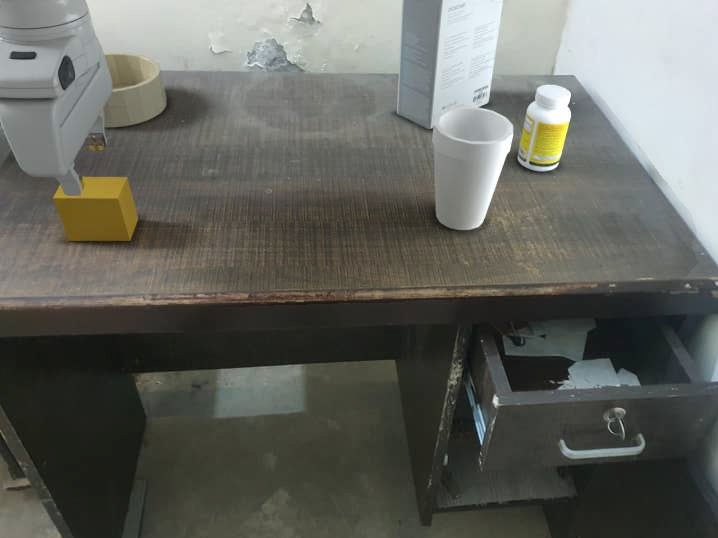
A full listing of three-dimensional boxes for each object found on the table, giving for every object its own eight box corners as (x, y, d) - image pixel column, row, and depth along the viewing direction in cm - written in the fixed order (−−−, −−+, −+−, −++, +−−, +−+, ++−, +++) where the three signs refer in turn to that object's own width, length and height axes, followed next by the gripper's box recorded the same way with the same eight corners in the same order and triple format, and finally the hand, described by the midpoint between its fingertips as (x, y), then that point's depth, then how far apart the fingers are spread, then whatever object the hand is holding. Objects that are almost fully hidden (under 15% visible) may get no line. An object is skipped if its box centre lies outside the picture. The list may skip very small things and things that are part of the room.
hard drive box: (455, 88, 112) (471, -35, 99) (489, 104, 108) (510, -22, 95) (394, 114, 103) (402, -17, 90) (428, 131, 100) (442, -3, 86)
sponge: (68, 241, 74) (52, 198, 70) (79, 219, 77) (64, 176, 73) (130, 241, 75) (118, 198, 71) (138, 219, 78) (127, 176, 74)
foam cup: (414, 200, 85) (423, 109, 76) (477, 192, 87) (492, 103, 79) (439, 242, 78) (452, 148, 70) (507, 232, 81) (527, 140, 72)
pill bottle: (565, 163, 95) (585, 92, 88) (543, 177, 91) (561, 105, 84) (531, 147, 98) (547, 78, 90) (508, 161, 94) (523, 90, 87)
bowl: (54, 126, 94) (43, 90, 90) (82, 84, 104) (73, 51, 101) (157, 128, 95) (149, 93, 91) (174, 86, 106) (168, 53, 102)
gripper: (48, 6, 69) (84, 124, 78) (-30, 87, 54) (26, 221, 63) (108, 8, 69) (137, 125, 78) (48, 88, 54) (93, 221, 63)
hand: (87, 168), depth 71 cm, fingers open, 8 cm apart
